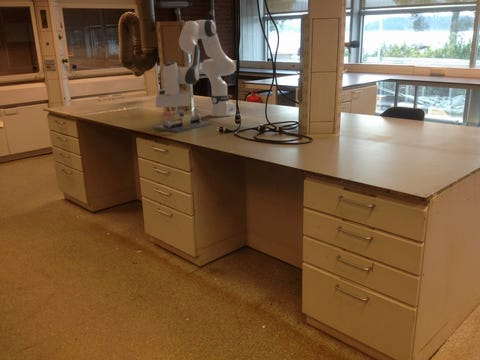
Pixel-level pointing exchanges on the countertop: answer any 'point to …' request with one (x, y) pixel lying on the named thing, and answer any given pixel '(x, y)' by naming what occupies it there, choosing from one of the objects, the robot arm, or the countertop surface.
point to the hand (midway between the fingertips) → (173, 114)
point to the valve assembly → (182, 123)
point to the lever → (180, 112)
